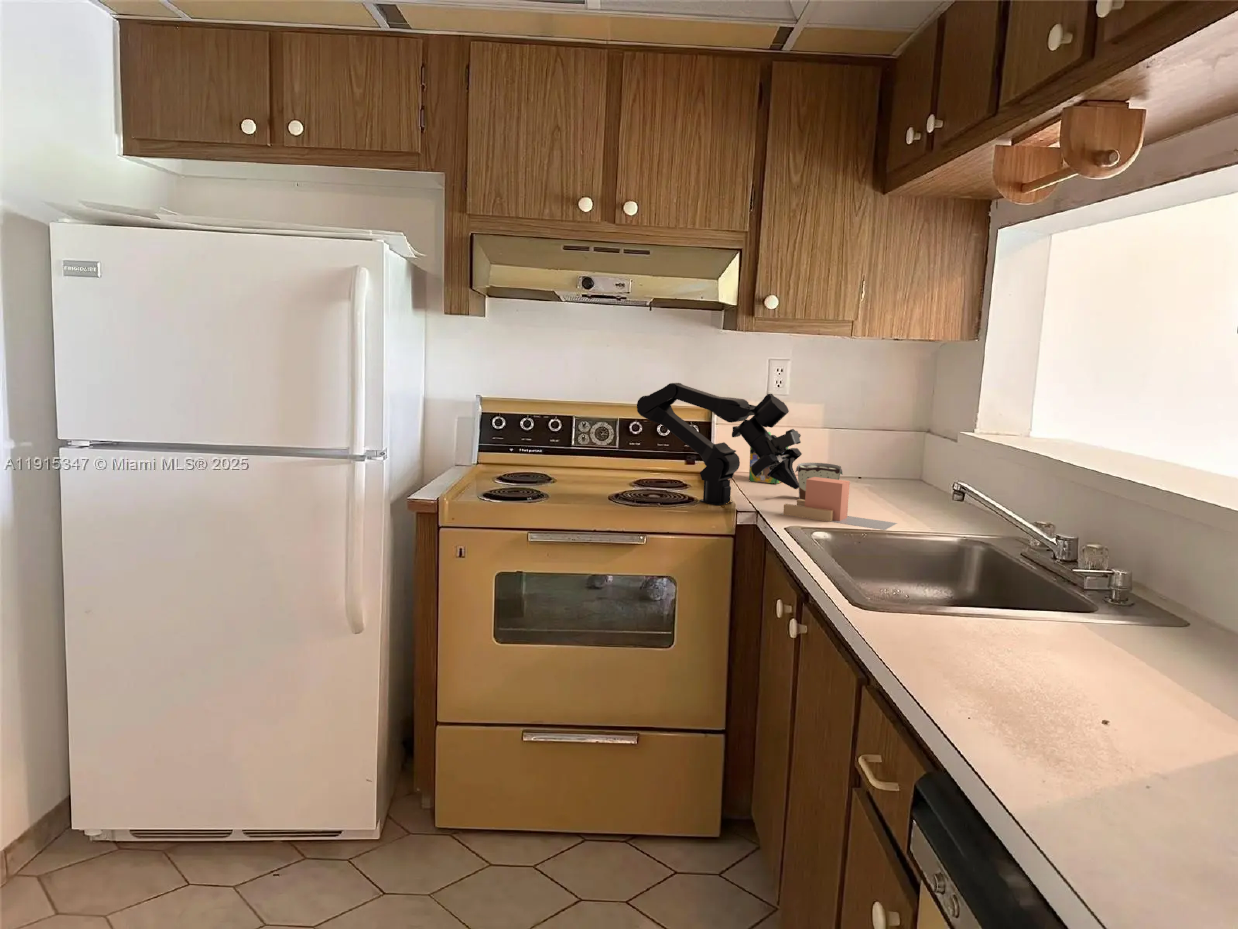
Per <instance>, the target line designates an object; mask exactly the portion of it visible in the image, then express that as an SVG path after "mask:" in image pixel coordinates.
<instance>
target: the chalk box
mask: <svg viewBox="0 0 1238 929" xmlns="http://www.w3.org/2000/svg"><path fill="white" fill-rule="evenodd" d="M767 432H768V433H769V434H770V435H772V434H771V432H770V431H767ZM786 448H787V449H789V447H786ZM751 449H752V448H751V447H750V446H749V468H748V469H749V474H748V481H749V480H750V481H756V482H755V483H764V484H773V483H774V485H777V483H778V484H780V483H782V482H780V481H778V480H776V479H774V478H772V477H770V476H767V474H768V473H769V472H771V471H770V470H769V469H770V468H769V467H767V468H765V469H764V470H763V471H762V475H761V476H757V477H755V475H754V474H753V473H752V471H751V466H752V465H753V464H754V463H755V462H756V461H757V460H758V459H760V458H759V457H758V456H757V455H756V453H754V454H752V453H751V452H750V450H751ZM782 454H783V453H782ZM750 481H749V482H750Z"/></svg>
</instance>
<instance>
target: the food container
mask: <svg viewBox="0 0 1238 929" xmlns="http://www.w3.org/2000/svg"><path fill="white" fill-rule="evenodd" d="M794 473H797V481H798V483H799V486H800V487H799V488H798V499H803V500H805V494H806V479H809V478H812V477H820V478H828V479H836V480H840V477H841V475H843V469H842V466H840V465H838V464H832V463H825V462H824V463H823V462H801V463H798V464H797V465H796V469H795V470H794Z"/></svg>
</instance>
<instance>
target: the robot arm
mask: <svg viewBox="0 0 1238 929" xmlns="http://www.w3.org/2000/svg"><path fill="white" fill-rule="evenodd" d="M677 401H680V402H684V403H686V404H690V405H692V406H696V407H699V408H701V409H703V410H708V411H710V412H712V413H713V414H714V415H716V416H717V417H718V418H720V419H721V420H724V421H725V422H727V423H738V422H741V423H740V424H739V425H734V426H732V432H731V438H736V437H737V438H739V437H740V436H741V437H742V438H743V440H744V441H745V442H746V444H748V446H749V448H750V447H751V448H752V449H751V450H750V449H749V453H750V452H751V453H752V454H754V453H756V455H757V456H758V457H759V458H760V459H758V460H757V461H756V462H755V463H754V464H753V465H752V466H751V471H752V473H753V474H754V475H755V477H757V476H761V475H762V471H763V470H764V469H765V468H767V467H769V468H770V469H769V470H770V471H771V472H769V473H768V474H767V476H770V477H772V478H774V479H776V480H778V481H780V482H781V483H782V484H785V485H786V486H788V487H790V488H791V489H794V490H799V487H800V486H799V483H798V477H797V476H796V472H795V470H794V468H793V464H794V462H795V461H796V460H798V459H799V458H800V457H801V456H802V454H803V453H802V452H801V451H800V449H799V448H797V447H791V446H793V445H799V444H801V443H802V442H801V439H800V438H801V436H802V435H801V433H799V431H798V430H795V429H794V428H790V429H789V430H786V431H785V434H781V435H780V436H779V435H778V436H777V435H776V434H771V435H770V434H769V433H768V432H769V431H768V430H767V429H766V428H774V427H775V426H776V424H778V423H779V422H781V420H783V419H784V417H785V416H786V415H787V414H789V411H790V410H789V408H788V406H787V404H785V402H784V401H782V400H781V399H779V398H778V397H776V396H774V394H773V393H767V394H766V395H765V396H764V397H763V399H762V400H761V401H760V402H759V403H758V404H757V405H753V404H749V401H747V400H746V399H744V398H737V397H729V396H727V397H725V396H719V395H715V394H712V393H709V392H706V391H703V390H700V389H698V388H694V387H691V386H688V385H685V384H683V383H681V382H670V383H668V384H667V385H666V386H664V387H662V388H661V389H658V390H656V391H654V392H652V393H650V394H649V395H643V396H641V397H639V398H638V400H637V403H636V411H637V413H638V414H639V416H641V417H643V418H644V419H646V420H648V421H650V422H654V423H655V424H658V425H661V426H663V427H664V428H665V429H666V430H668V431H669V432H670V433H672V435H674V436H675V437H676V438H678V439H679V440H680V441H682V443H684V444H685V445H686V446H688V448H690V449H691V450H693V451H694V452H695V453H696V454H698V455H699V456H700V457H701V459H702V461H703V464H704V465H705V467H704V468H703V469H702V470H701V471H700V472H699V475H700V479H701V480H702V481H703V494H702V497H703V498H701V499H699V500H698V501H699V503H705V504H708V505H714V506H722V505H727V504H726V503H728V502H729V501H730V500H731V495H732V494H731V493H732V490H731V489H732V487H731V479H733V477H734V476H735V473H736V472H737V471H738V470H739V467H740V464H741V462H740V456H739V455H738V454H737V453H736V452H737V450H735V449H732V448H731V447H730V446H729V445H728V444H727V443H726V442H724V441H723V442H719V443H714V442H712V441H710V439H708V438H707V437H705V435H703V434H702V433H701V432H699V431H698V430H697V429H695V428H694V427H693V426H692V425H690V424H689V423H688V422H687V421H685V420H684V419H683V418H682V417H680V416H679V415H678V414H676V413H675V412H674V410H673V407H672V405H673V404H674V403H676V402H677ZM750 416H751V418H749V417H750ZM748 418H749V419H748ZM786 447H788V449H787V448H786ZM790 447H791V448H790ZM782 453H783V454H782Z"/></svg>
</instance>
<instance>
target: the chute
mask: <svg viewBox="0 0 1238 929" xmlns="http://www.w3.org/2000/svg"><path fill="white" fill-rule="evenodd" d="M780 515H782V516H787V517H795V518H803V519H810V520H815V521H824V522H829V523H834V524H840V525H841V524H842V525H847V526H854V527H862V528H867V529H868V528H869V529H876V530H882V531H886V530H888V529H890V528H892V527H893V526H895V525H897V524H898V523H897V522H893V521H892V522H891V521H886V520H878V519H871V518H865V517H857V516H851V515H847V518H845V519H843V520H841V521H836V520H833V510H827V509H820V508H813V507H806V506H805V500H803V499H799V498H798V499H796V504H791V503H785V504H783V512H780Z"/></svg>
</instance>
